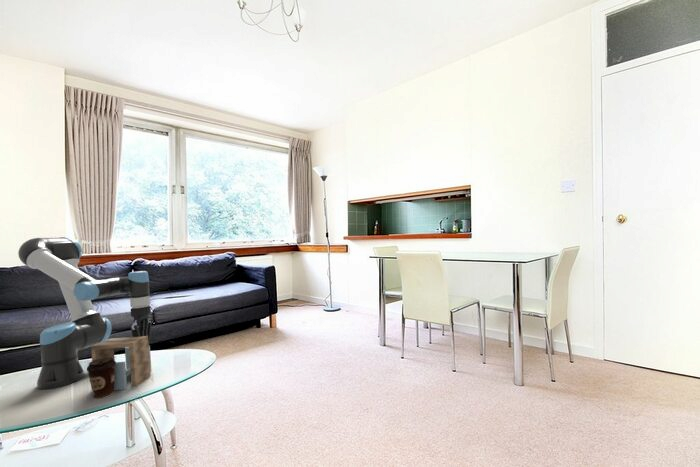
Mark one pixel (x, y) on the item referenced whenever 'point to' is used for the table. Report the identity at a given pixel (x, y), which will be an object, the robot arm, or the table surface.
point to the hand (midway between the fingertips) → (144, 360)
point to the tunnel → (136, 351)
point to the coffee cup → (102, 377)
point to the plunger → (124, 371)
